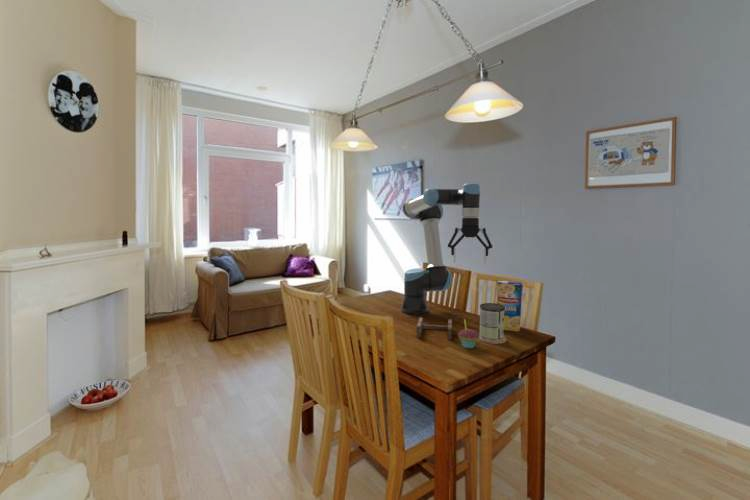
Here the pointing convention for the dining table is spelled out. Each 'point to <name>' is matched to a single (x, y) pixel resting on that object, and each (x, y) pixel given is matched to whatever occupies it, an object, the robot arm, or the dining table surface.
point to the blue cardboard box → (510, 303)
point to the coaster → (494, 341)
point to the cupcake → (468, 337)
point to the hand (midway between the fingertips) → (469, 262)
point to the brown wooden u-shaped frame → (434, 327)
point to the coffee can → (491, 321)
